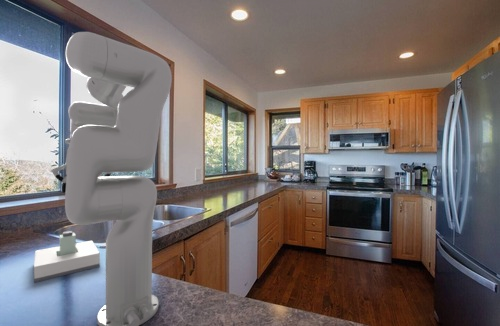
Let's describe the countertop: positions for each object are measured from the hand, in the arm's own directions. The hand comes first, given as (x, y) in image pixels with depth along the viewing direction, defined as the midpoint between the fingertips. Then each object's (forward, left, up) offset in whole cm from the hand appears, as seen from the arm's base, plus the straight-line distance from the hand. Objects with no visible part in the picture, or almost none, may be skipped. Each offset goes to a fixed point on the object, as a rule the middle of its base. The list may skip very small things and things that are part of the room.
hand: (84, 193), depth 81 cm
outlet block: (+1, +5, -24) cm, 24 cm away
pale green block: (+1, +5, -23) cm, 23 cm away
